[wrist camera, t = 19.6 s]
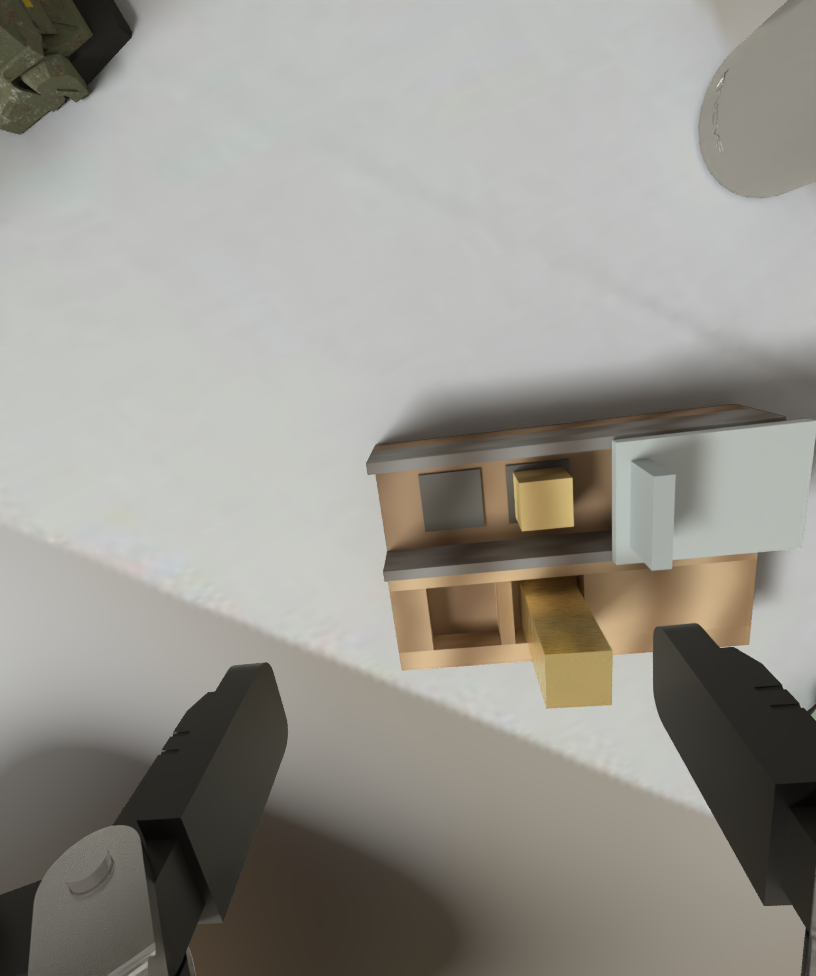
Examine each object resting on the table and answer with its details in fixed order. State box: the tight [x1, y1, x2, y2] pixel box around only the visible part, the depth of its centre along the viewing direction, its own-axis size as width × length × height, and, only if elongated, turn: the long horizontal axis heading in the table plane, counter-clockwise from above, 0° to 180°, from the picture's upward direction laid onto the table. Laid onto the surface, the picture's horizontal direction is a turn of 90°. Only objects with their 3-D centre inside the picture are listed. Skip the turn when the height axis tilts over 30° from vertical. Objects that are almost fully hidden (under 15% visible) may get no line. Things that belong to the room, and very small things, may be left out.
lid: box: [612, 418, 816, 571], centre depth 31 cm, size 12×9×4 cm
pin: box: [518, 576, 613, 708], centre depth 35 cm, size 4×4×10 cm
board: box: [366, 404, 786, 671], centre depth 38 cm, size 27×18×6 cm, turn 97°
